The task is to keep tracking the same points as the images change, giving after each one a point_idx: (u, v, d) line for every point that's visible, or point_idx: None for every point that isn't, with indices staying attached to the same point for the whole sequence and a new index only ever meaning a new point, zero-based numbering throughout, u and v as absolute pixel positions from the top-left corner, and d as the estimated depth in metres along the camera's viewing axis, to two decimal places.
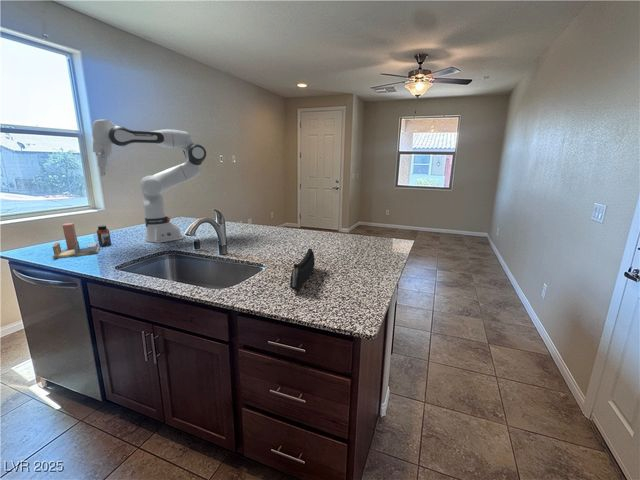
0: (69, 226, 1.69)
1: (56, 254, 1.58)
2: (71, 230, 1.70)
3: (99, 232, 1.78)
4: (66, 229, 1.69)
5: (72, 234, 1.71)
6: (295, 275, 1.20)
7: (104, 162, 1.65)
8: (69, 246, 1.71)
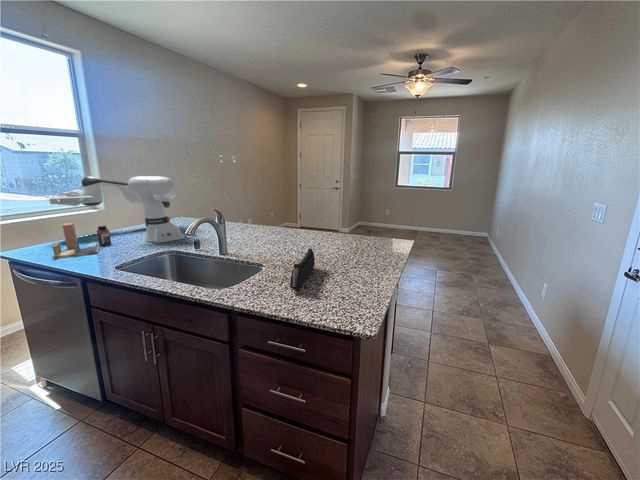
0: (69, 226, 1.69)
1: (56, 254, 1.58)
2: (71, 230, 1.70)
3: (99, 232, 1.78)
4: (66, 229, 1.69)
5: (72, 234, 1.71)
6: (295, 275, 1.20)
7: (92, 200, 1.91)
8: (69, 246, 1.71)
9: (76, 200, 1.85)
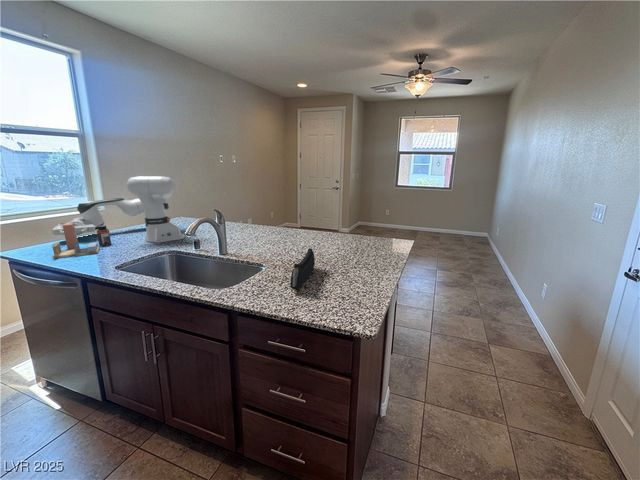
0: (69, 226, 1.69)
1: (56, 254, 1.58)
2: (71, 230, 1.70)
3: (99, 232, 1.78)
4: (66, 229, 1.69)
5: (72, 234, 1.71)
6: (295, 275, 1.21)
7: (95, 229, 1.91)
8: (69, 246, 1.71)
9: (79, 230, 1.86)
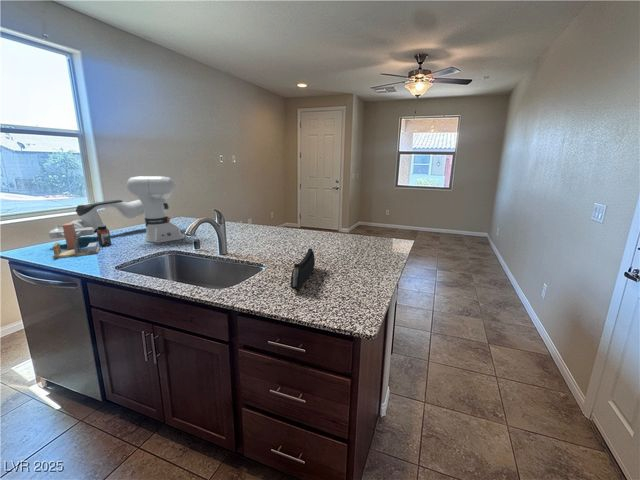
0: (69, 226, 1.69)
1: (56, 254, 1.58)
2: (71, 230, 1.70)
3: (99, 232, 1.78)
4: (66, 229, 1.69)
5: (72, 234, 1.71)
6: (295, 275, 1.21)
7: (94, 232, 1.83)
8: (69, 246, 1.71)
9: (77, 233, 1.78)
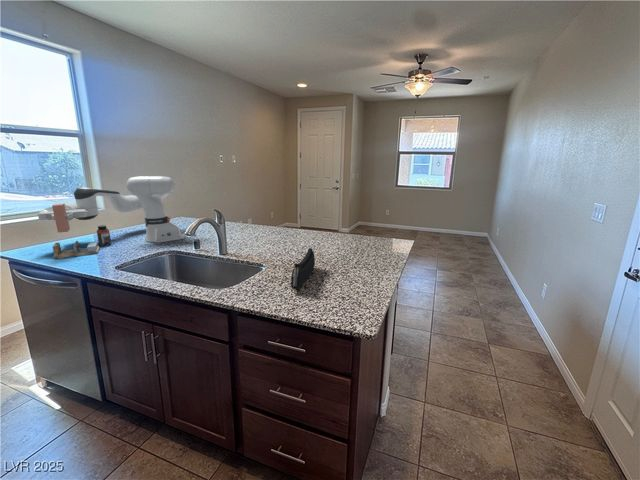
0: (59, 206, 1.57)
1: (56, 254, 1.58)
2: (61, 211, 1.58)
3: (99, 232, 1.78)
4: (56, 210, 1.57)
5: (63, 215, 1.59)
6: (296, 274, 1.21)
7: (86, 215, 1.71)
8: (60, 228, 1.60)
9: None
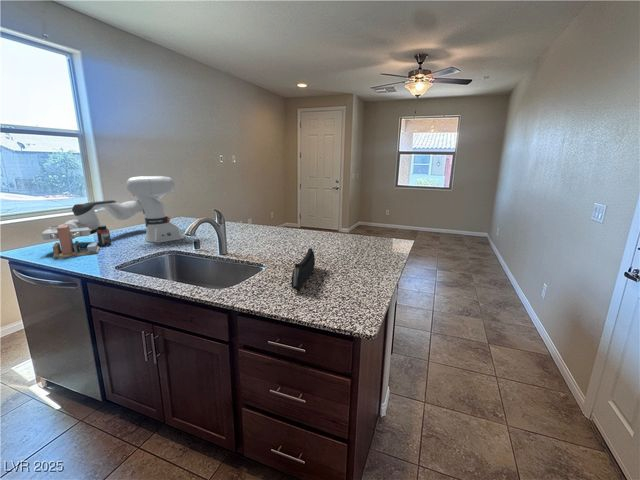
0: (64, 229, 1.58)
1: (56, 254, 1.58)
2: (66, 233, 1.59)
3: (99, 232, 1.78)
4: (61, 232, 1.58)
5: (67, 237, 1.60)
6: (296, 275, 1.21)
7: (90, 233, 1.72)
8: (64, 250, 1.60)
9: (72, 234, 1.66)
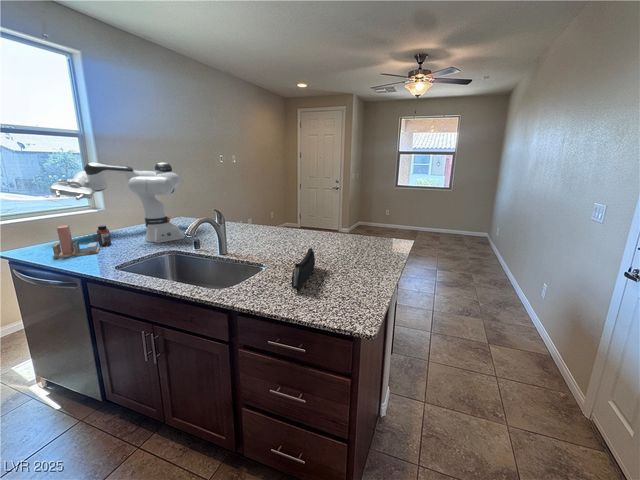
0: (64, 229, 1.58)
1: (56, 254, 1.58)
2: (66, 233, 1.59)
3: (99, 232, 1.78)
4: (61, 232, 1.58)
5: (67, 237, 1.60)
6: (296, 274, 1.21)
7: None
8: (64, 250, 1.60)
9: (75, 194, 1.85)
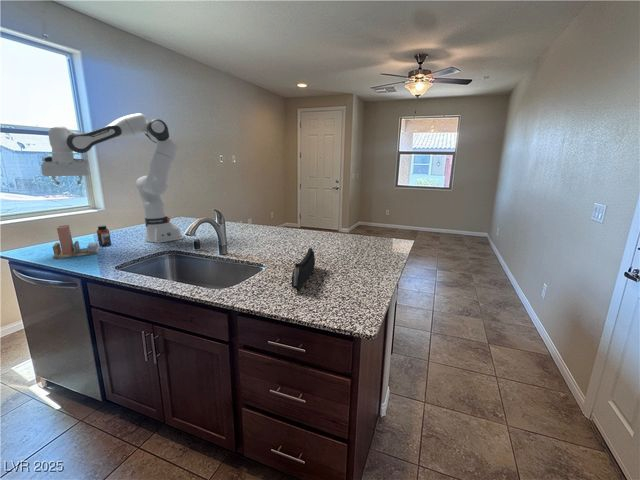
0: (64, 229, 1.58)
1: (56, 254, 1.58)
2: (66, 233, 1.59)
3: (99, 232, 1.78)
4: (61, 232, 1.58)
5: (67, 237, 1.60)
6: (296, 274, 1.21)
7: (88, 170, 1.75)
8: (64, 250, 1.60)
9: None
